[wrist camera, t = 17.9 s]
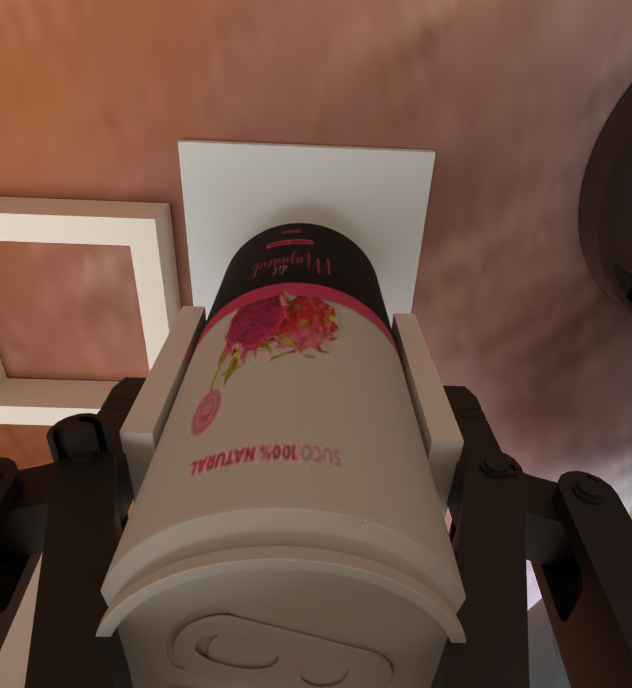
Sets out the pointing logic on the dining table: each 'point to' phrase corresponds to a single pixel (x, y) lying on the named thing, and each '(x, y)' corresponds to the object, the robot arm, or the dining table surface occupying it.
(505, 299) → the dining table surface
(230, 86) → the dining table surface
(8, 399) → the grey frame with post
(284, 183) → the mat
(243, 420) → the beverage can
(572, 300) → the dining table surface
